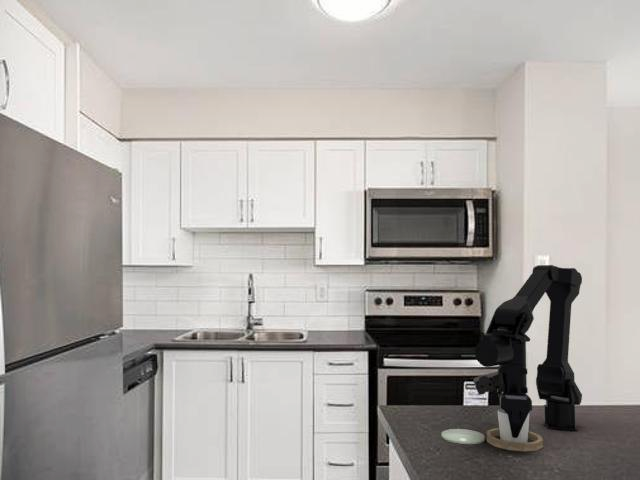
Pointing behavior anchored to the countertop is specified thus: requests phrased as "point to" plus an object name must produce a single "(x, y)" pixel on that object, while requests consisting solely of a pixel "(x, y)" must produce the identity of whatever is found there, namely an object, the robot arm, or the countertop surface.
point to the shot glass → (506, 431)
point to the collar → (514, 445)
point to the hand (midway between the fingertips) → (513, 433)
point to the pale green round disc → (463, 436)
